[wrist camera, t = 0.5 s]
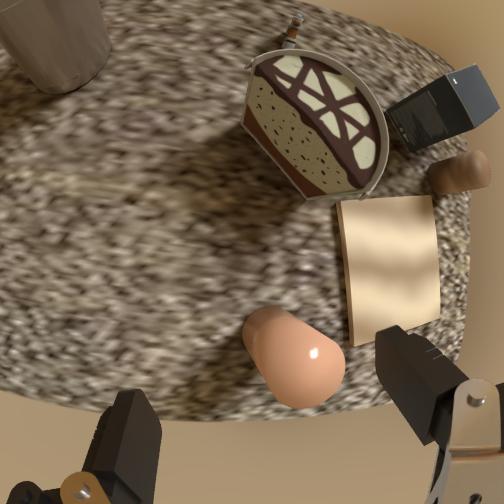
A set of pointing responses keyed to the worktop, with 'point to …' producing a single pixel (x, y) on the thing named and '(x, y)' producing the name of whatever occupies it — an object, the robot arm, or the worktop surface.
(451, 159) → the walnut cylinder
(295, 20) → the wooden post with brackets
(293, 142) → the food container
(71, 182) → the worktop surface
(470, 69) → the box
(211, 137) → the worktop surface
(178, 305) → the worktop surface
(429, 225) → the birch board
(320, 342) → the salmon orange cylinder
